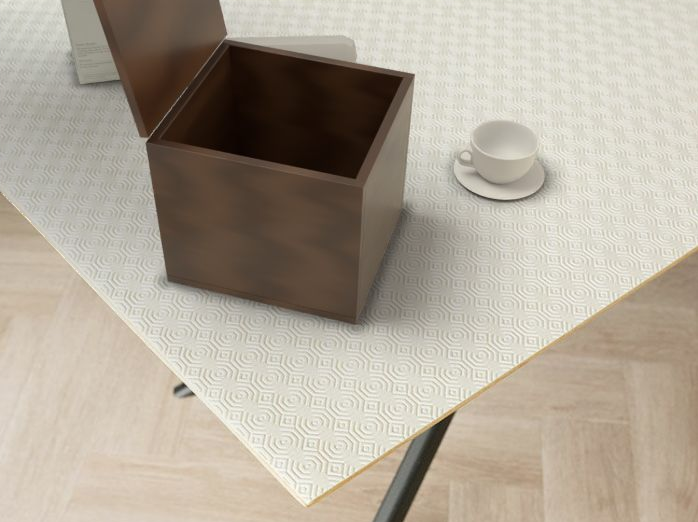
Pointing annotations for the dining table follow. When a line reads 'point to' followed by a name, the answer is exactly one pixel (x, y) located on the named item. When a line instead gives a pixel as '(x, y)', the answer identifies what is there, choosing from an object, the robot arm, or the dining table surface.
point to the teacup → (500, 160)
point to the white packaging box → (88, 42)
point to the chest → (282, 177)
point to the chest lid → (159, 50)
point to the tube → (308, 45)
